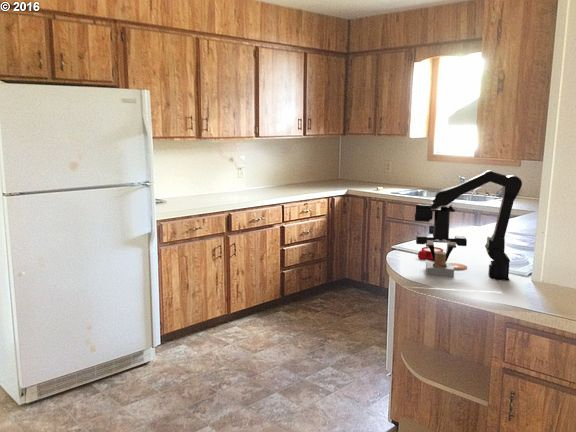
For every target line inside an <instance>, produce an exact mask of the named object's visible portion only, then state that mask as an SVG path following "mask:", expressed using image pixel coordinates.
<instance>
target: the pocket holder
mask: <svg viewBox="0 0 576 432" xmlns="http://www.w3.org/2000/svg"><path fill="white" fill-rule="evenodd" d="M452 263H453V262H446V264H445V267H434V261H425V272H426V276H427V277H444V278H445V277H446V278H454V277H455V270H454V268H453V265H452Z"/></svg>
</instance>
